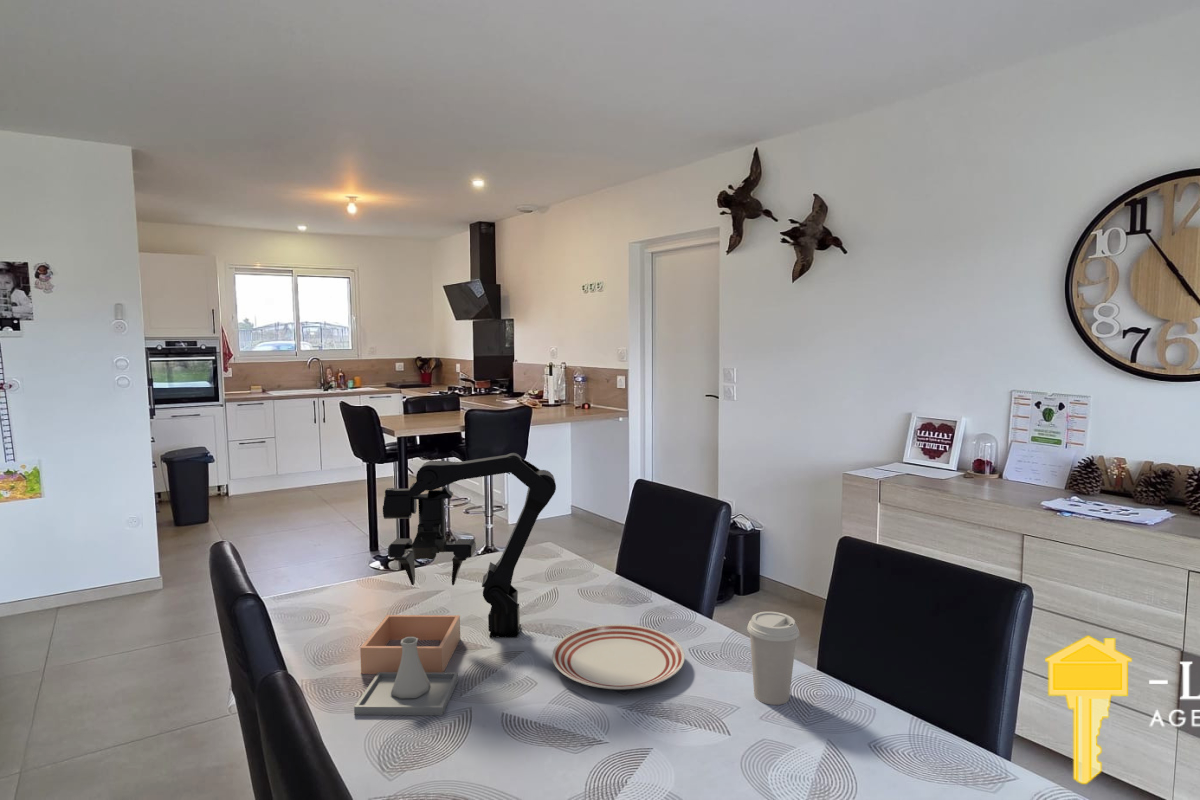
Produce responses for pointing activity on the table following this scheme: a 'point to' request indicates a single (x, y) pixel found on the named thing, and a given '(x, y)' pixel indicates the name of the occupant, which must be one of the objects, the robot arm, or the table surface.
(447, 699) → the grey tray
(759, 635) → the coffee cup
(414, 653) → the flask
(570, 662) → the dinner plate
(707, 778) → the table surface
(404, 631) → the terracotta box
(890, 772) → the table surface
